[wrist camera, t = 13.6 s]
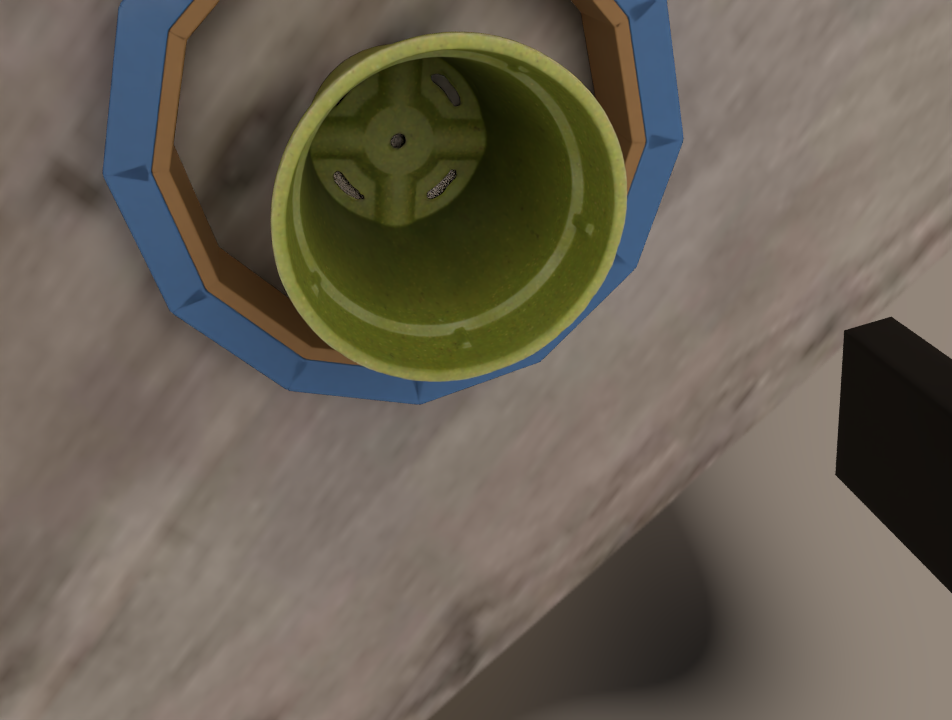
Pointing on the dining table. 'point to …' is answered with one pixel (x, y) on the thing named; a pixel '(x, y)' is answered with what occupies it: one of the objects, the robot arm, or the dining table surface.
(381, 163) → the plant pot
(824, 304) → the dining table surface
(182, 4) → the tape roll
